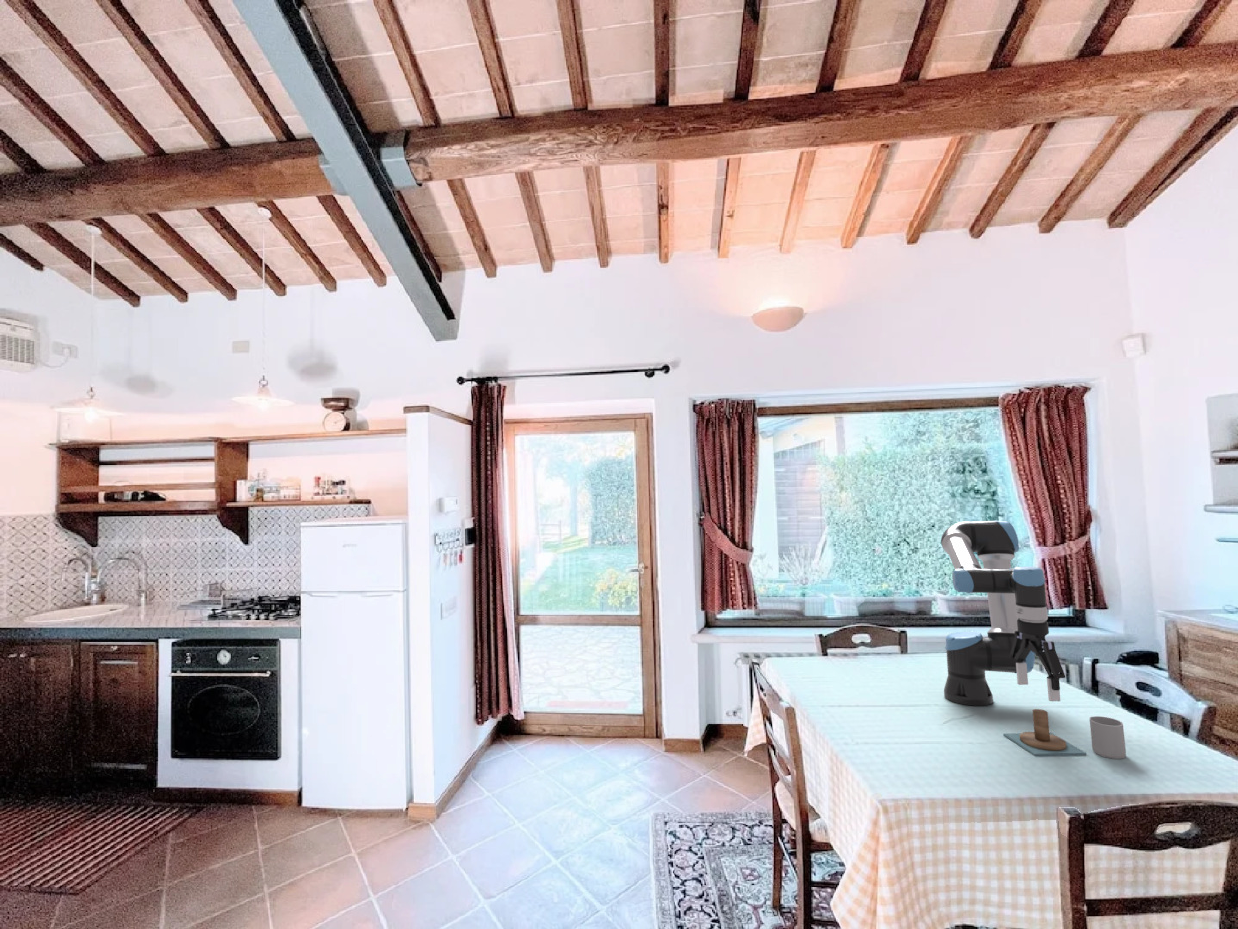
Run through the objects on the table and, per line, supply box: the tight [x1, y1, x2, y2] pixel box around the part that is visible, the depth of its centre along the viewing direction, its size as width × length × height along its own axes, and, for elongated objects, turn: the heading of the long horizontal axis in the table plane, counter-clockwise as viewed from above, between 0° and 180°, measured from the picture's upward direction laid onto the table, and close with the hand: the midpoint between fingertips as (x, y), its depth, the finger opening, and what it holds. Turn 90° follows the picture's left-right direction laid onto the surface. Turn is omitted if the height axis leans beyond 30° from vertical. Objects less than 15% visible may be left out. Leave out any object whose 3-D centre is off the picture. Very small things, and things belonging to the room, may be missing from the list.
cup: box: [1089, 715, 1127, 760], centre depth 160 cm, size 7×10×9 cm
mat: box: [1003, 732, 1087, 757], centre depth 166 cm, size 14×14×1 cm
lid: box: [1020, 708, 1067, 751], centre depth 166 cm, size 11×11×9 cm
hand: (1038, 692), depth 167 cm, fingers open, 13 cm apart
